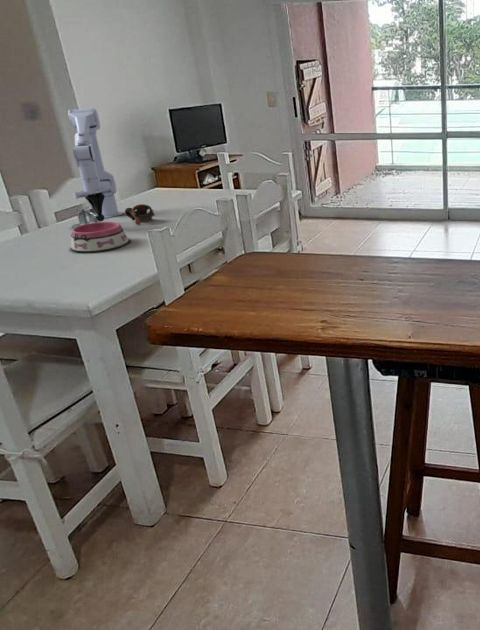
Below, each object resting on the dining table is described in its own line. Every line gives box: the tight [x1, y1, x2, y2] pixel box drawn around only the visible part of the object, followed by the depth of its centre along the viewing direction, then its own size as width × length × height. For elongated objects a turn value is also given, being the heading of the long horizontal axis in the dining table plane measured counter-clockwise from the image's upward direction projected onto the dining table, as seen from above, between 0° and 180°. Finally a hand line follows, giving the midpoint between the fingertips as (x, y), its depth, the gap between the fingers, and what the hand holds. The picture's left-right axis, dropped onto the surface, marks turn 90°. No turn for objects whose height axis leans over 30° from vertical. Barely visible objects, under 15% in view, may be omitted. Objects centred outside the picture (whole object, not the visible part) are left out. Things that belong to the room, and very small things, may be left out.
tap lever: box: [83, 207, 106, 222], centre depth 225 cm, size 13×3×3 cm, turn 56°
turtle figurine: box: [124, 203, 156, 226], centre depth 234 cm, size 12×10×8 cm
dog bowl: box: [70, 221, 130, 254], centre depth 204 cm, size 18×19×7 cm
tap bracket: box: [71, 205, 100, 229], centre depth 228 cm, size 10×9×8 cm
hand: (99, 213), depth 222 cm, fingers closed
